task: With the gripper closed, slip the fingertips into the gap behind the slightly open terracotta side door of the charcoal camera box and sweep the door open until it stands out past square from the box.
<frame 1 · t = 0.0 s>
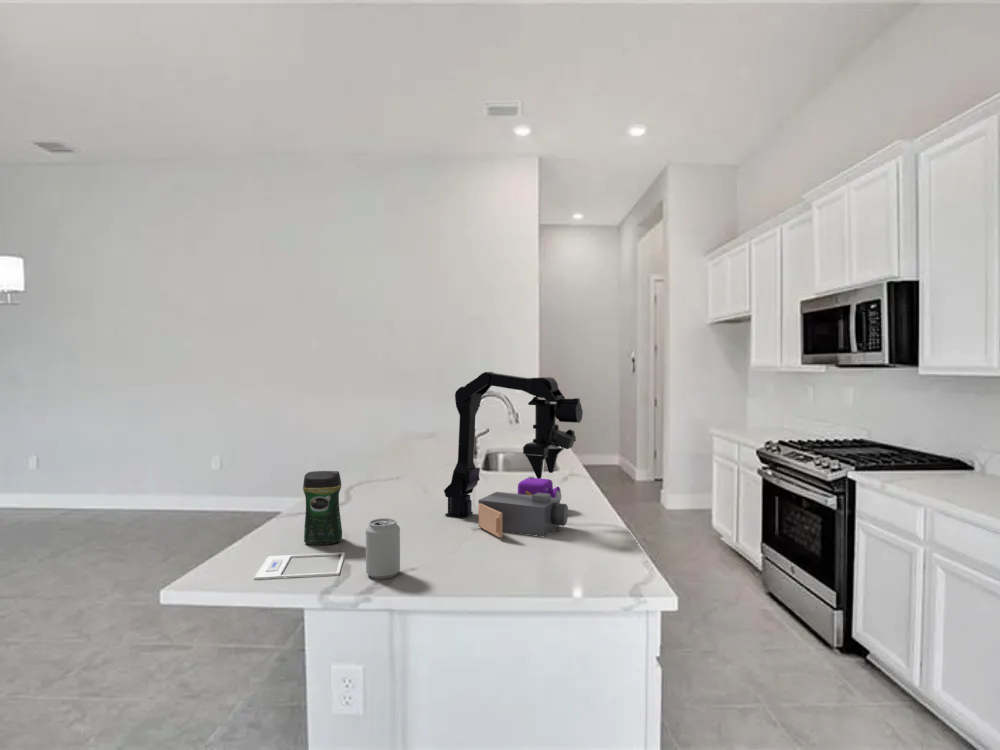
hand: (545, 475, 175), 15 cm above the table, tool pointing down, fingers open, 9 cm apart
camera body: (519, 527, 175), on the table
can: (383, 575, 137), on the table
coffee jar: (323, 542, 161), on the table
toy camera: (540, 510, 195), on the table
side door: (488, 520, 167), point 4 cm above the table, hinge at 35.0°
photo frame: (302, 569, 142), on the table
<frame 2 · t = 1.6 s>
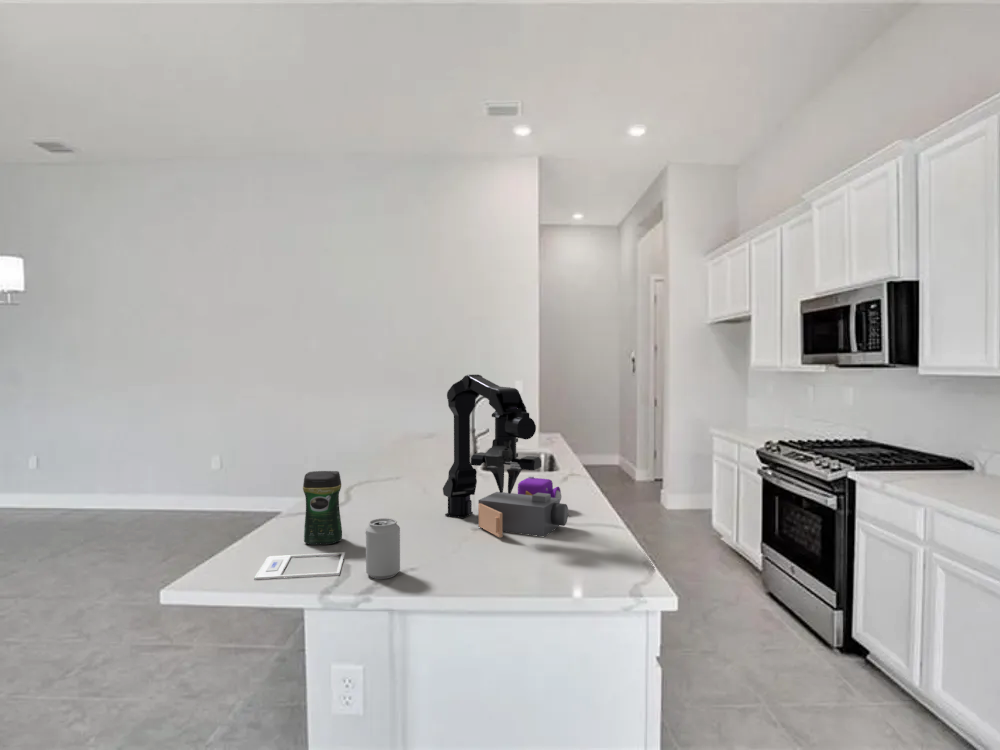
hand: (505, 492, 165), 12 cm above the table, tool pointing down, fingers closed
nothing on the table moved.
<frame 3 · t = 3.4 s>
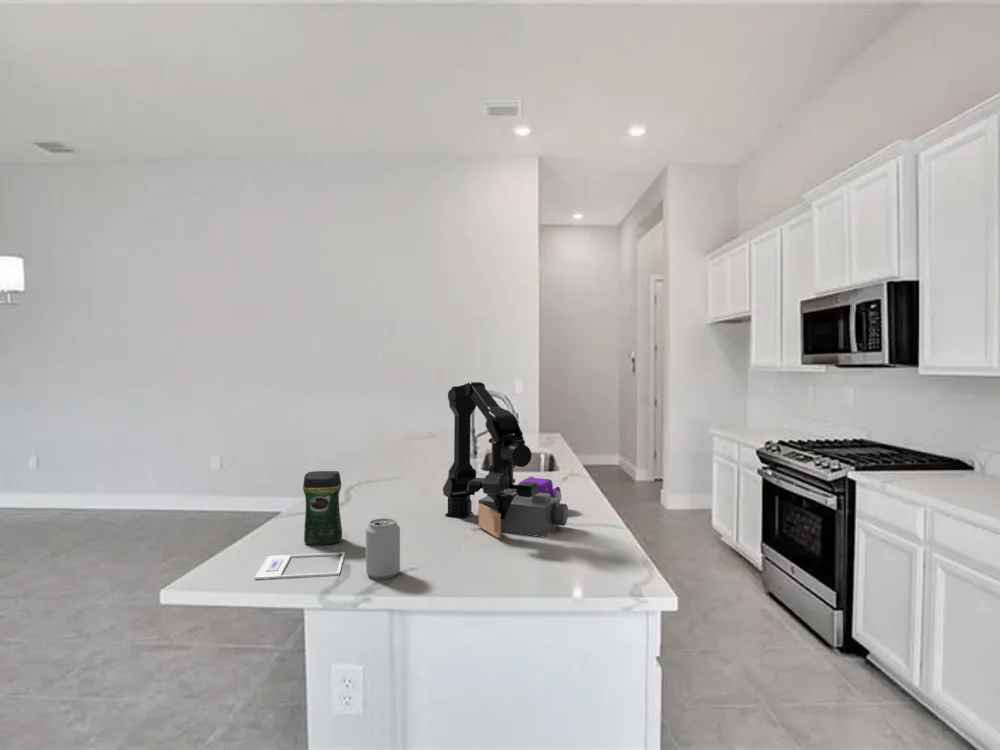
hand: (502, 518, 164), 5 cm above the table, tool pointing down, fingers closed
side door: (487, 520, 167), point 4 cm above the table, hinge at 37.7°, touching gripper
everything else where it was.
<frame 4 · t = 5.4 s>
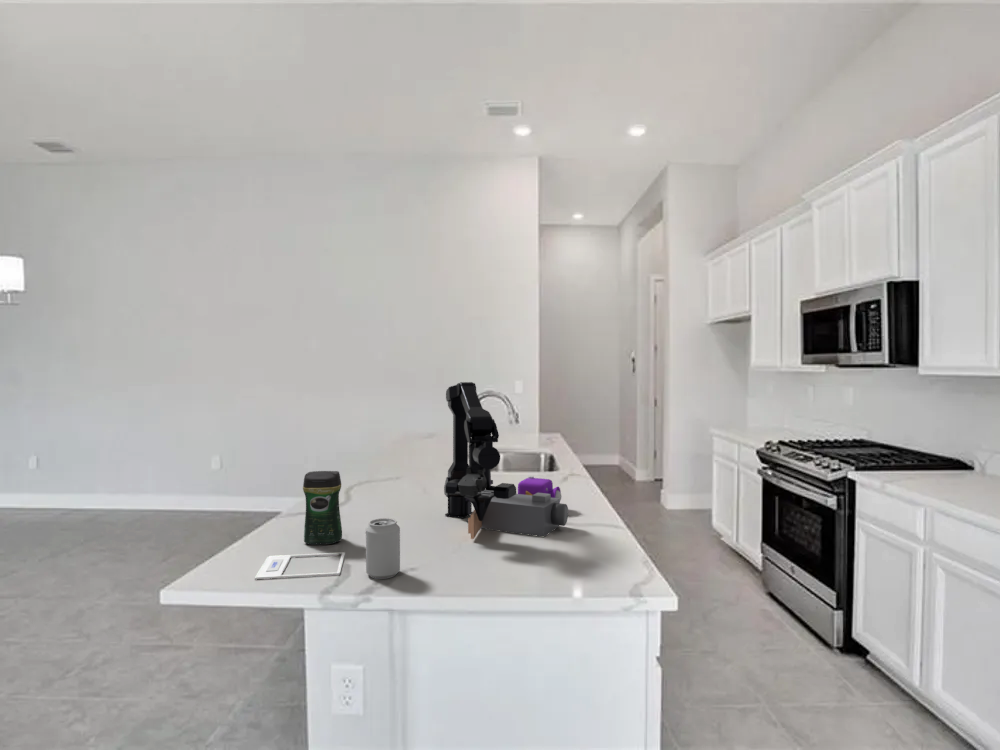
hand: (480, 520, 163), 5 cm above the table, tool pointing down, fingers closed
side door: (475, 520, 167), point 4 cm above the table, hinge at 72.6°, touching gripper
everything else where it was.
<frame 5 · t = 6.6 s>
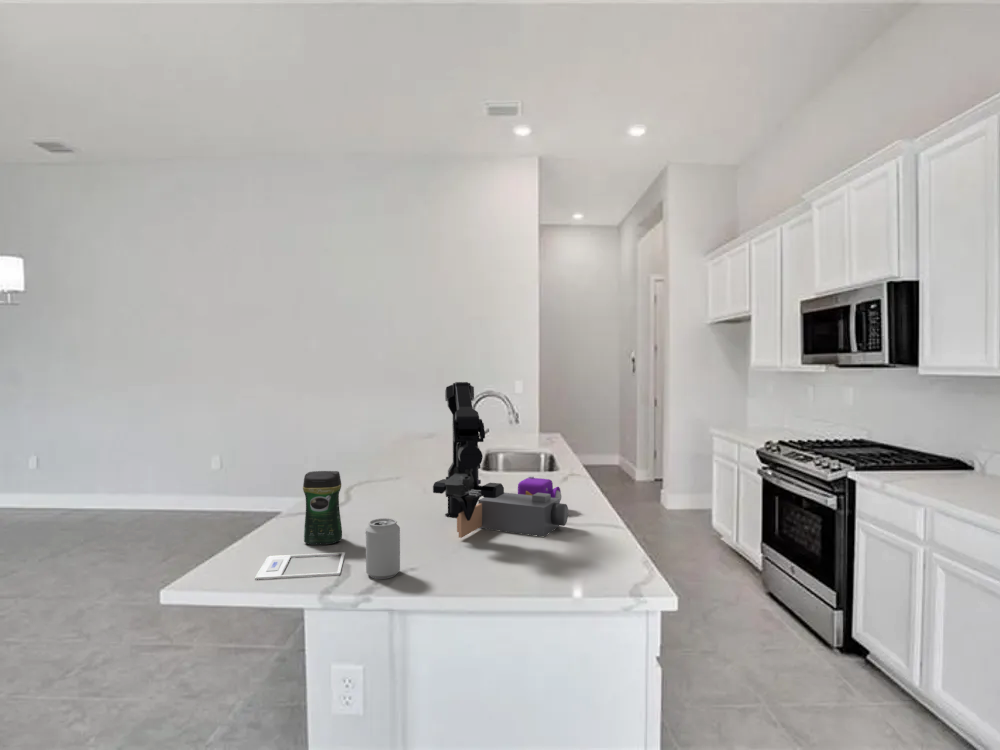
hand: (468, 520, 163), 5 cm above the table, tool pointing down, fingers closed
side door: (469, 519, 167), point 4 cm above the table, hinge at 89.2°, touching gripper
everything else where it was.
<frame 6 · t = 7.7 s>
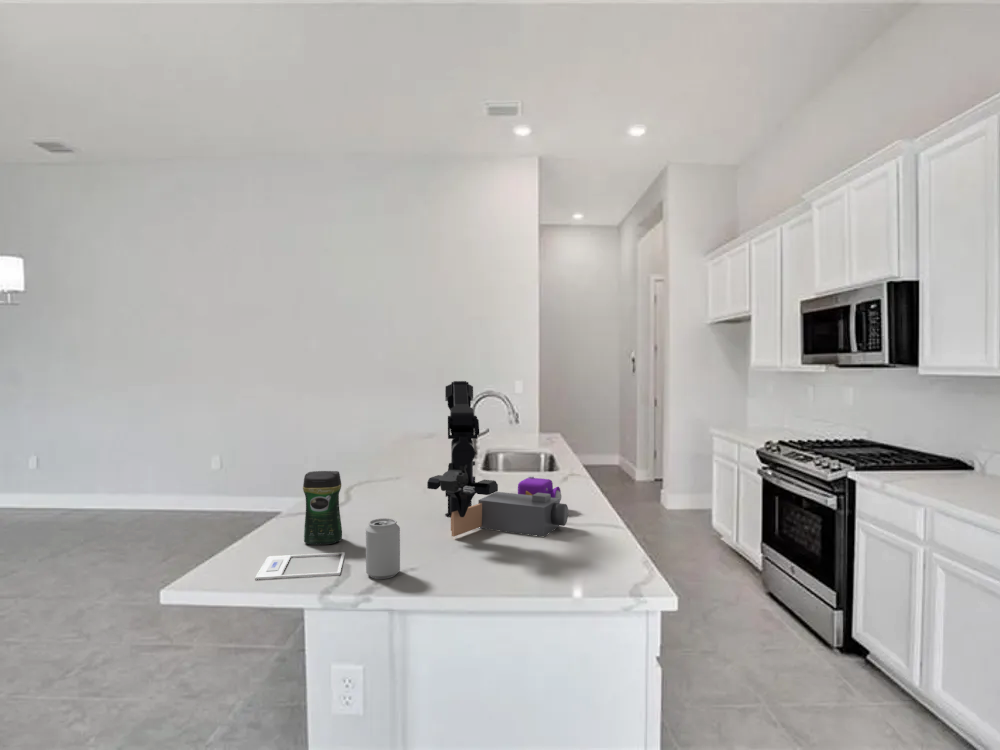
hand: (462, 516, 163), 6 cm above the table, tool pointing down, fingers closed
side door: (466, 519, 168), point 4 cm above the table, hinge at 100.1°
everything else where it was.
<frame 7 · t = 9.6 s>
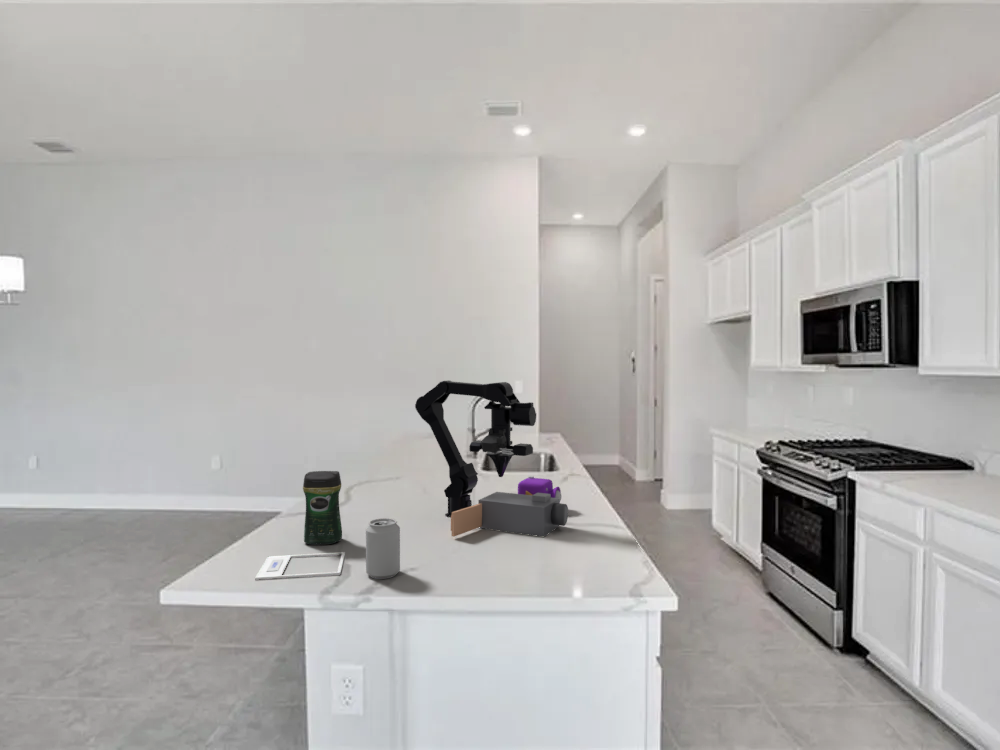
hand: (500, 476, 182), 13 cm above the table, tool pointing down, fingers closed
nothing on the table moved.
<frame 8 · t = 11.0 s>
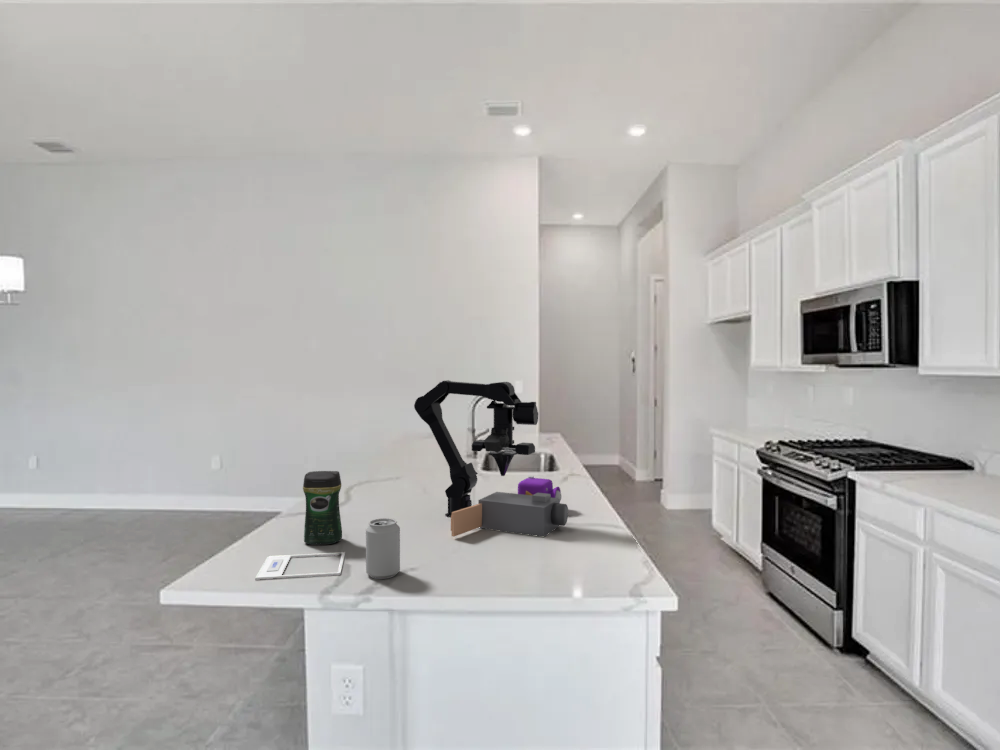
hand: (502, 475, 183), 13 cm above the table, tool pointing down, fingers closed
nothing on the table moved.
at the end: side door at +100° (first picture: +35°); toy camera moved 0.3 cm from its start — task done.
